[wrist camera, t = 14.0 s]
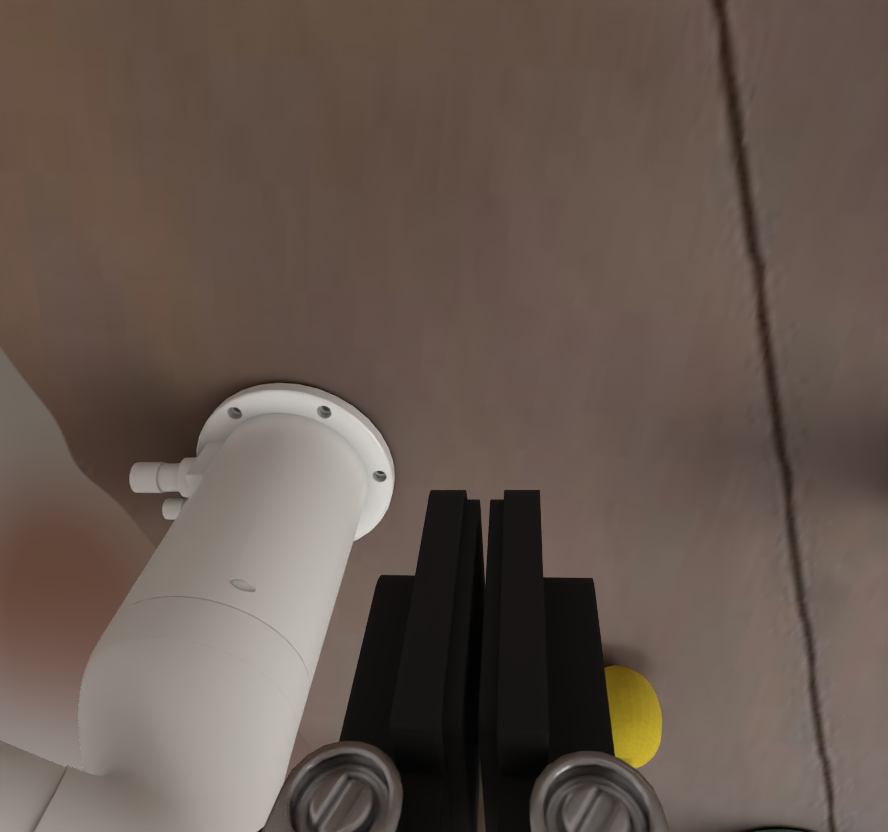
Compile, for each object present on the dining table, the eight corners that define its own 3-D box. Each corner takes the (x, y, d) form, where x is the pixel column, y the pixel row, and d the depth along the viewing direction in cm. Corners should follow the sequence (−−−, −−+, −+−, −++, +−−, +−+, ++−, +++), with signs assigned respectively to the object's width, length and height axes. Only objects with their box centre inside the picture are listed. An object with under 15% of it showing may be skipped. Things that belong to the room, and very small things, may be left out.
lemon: (666, 657, 51) (688, 760, 45) (626, 698, 54) (641, 800, 48) (600, 633, 51) (613, 733, 44) (563, 675, 54) (570, 775, 47)
